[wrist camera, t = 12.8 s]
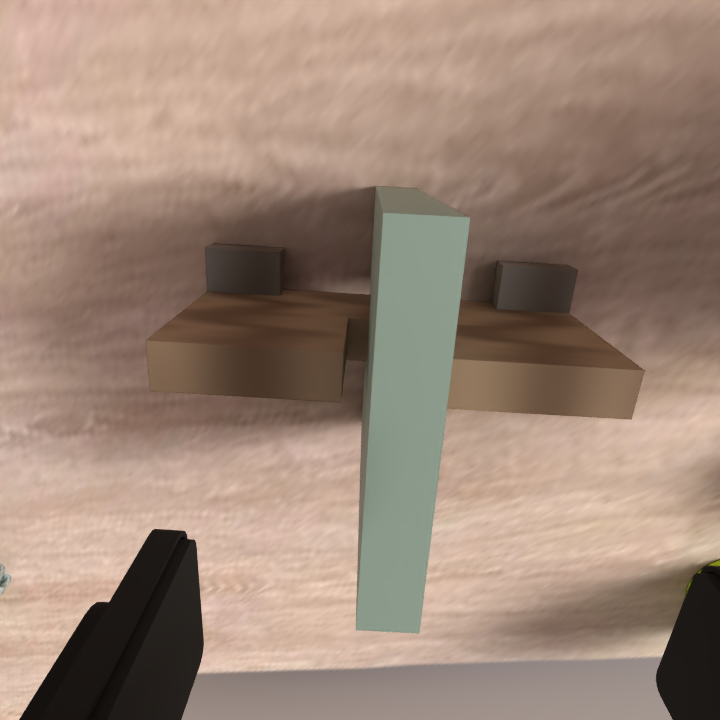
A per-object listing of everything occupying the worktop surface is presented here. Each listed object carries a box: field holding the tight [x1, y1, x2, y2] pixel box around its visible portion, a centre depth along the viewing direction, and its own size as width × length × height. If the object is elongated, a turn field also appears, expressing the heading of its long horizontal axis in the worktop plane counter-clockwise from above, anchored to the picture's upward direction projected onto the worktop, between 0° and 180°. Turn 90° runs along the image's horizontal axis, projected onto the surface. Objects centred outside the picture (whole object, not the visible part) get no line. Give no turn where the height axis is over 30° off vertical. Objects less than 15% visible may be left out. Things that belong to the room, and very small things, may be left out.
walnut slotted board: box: [146, 244, 645, 419], centre depth 26 cm, size 20×7×10 cm, turn 87°
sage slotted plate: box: [356, 186, 470, 633], centre depth 23 cm, size 2×14×16 cm, turn 177°
